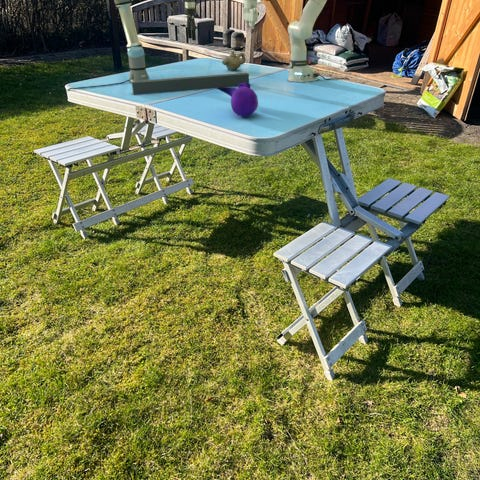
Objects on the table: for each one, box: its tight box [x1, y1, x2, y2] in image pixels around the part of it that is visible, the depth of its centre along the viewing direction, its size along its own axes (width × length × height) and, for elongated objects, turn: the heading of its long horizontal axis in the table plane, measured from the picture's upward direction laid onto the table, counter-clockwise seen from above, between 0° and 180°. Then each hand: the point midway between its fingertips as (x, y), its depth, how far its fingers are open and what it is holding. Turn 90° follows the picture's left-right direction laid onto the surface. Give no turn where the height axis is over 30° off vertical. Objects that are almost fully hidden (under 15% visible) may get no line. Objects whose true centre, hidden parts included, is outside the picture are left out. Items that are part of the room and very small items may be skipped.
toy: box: [216, 82, 259, 118], centre depth 249 cm, size 16×18×27 cm
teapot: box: [221, 50, 246, 72], centre depth 367 cm, size 21×12×15 cm, turn 120°
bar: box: [130, 72, 250, 96], centre depth 310 cm, size 81×6×8 cm, turn 107°
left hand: (191, 39), depth 344 cm, fingers open, 13 cm apart
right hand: (250, 28), depth 304 cm, fingers open, 8 cm apart
